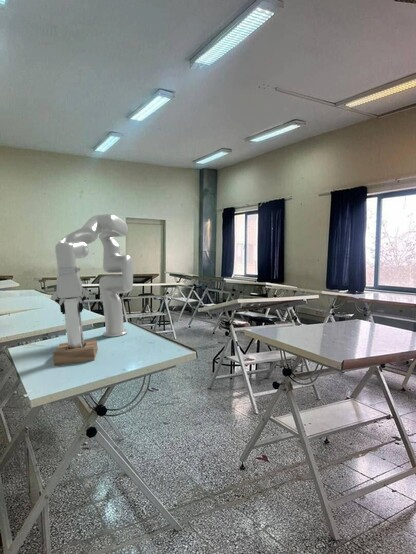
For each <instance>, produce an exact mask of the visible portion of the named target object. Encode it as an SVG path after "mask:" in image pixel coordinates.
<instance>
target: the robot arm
mask: <svg viewBox="0 0 416 554" xmlns="http://www.w3.org/2000/svg"><path fill="white" fill-rule="evenodd" d="M128 232H129V227H128V224H127V222H126V221H124V220H123V219H121V218H120V217H119V216H117V215H115V214H111V213H107V214H106V213H105V214H96V215H93V216H91V217H90V218H89V219H88V220H87V221H86V222H85V223H84V224H83V225H82V226H81V228H79V229H76V230H74V231H72V232H70V233H68V234H67V235H65V236H63V237H62V238H61V239H60V240H59V241H58V242H57V244H55V246H54V247H55V248H54V250H55V256H56V257H55V259H56V265H57V272H58V273H57V274H58V275H56V290H55V292H54V293H53V294H52V295H51V296H50V299H51V300H53V301H54V302H55V303H56V304H58V305H59V307H60V308H59V309H60V313H62V314H61V315H65V314H64V305H63V301H64V299H66V298H75V297H77V299H78V300H79V311H80V313H82V312H83V310H84V301H85V300H86V298H88V297H89V295H90V292H89V291H88V290H86V289H85V288H84V287H83V284H82V278H81V276H80V273H78V272H80V271H81V268H80V267H77V260H78V259H84V258H85V257H87V256H88V255H89V252H90V247H89V244H92V243H93V242H95V241H96V240H97V239H98V238H99V241H100V242H101V244H102V248H103V252H102V253H103V254H102V255H103V259H102V269H103V271H104V273H106V274H109V275H105V276H102V277H101V278H100V279H99V281H98V287H99V291H100V294H101V298H102V306H103V315H104V324H105V331H104V332H103V333H102V335H103V337H106V338H107V337H108V338H113V337H119V336H124V335H126V334H127V333H128V330H127V329H125V325H124V323H125V322H124V315H123V314H124V313H123V306H122V305H123V304H122V299H121V297H120V296H119V295H118V294H127V293H129V292H131V291H132V290H133V288H134V287H133V286H134V262H133V261H134V260H133V258H132V257H131V256H130V255H129V254H120V253H121V247H120V244H119V243H118V241H116V239H115V238H122V237H125V236H127V235H128ZM110 274H111V275H110ZM113 274H114V275H113ZM82 295H83V296H82Z"/></svg>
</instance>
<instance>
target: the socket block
mask: <svg viewBox="0 0 416 554" xmlns="http://www.w3.org/2000/svg"><path fill="white" fill-rule="evenodd" d="M98 351H99V349H98V340H97V339H96V338H95V339H88V340H84V347H83V348H75V349H69V347H68V342H62V343H61V342H60V343H59V345H58V346H57V347H56V349H55V350H54V352H53V353H52V357H53V364H54V366H61V365H68V364H76V363H83V362H92V361H95V360H96V357H97V353H98Z"/></svg>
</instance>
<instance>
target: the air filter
mask: <svg viewBox="0 0 416 554" xmlns="http://www.w3.org/2000/svg"><path fill="white" fill-rule="evenodd" d="M63 305H64V314H63V315H64V320H65V330H66V337H67V343H68V347H69V349H75V348H83V347H84V341H85V340H84V331H83V323H82V315H81V313H82V312H80V311H79V300H78V299H77V297H75V298H65V299H64V301H63Z"/></svg>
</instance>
